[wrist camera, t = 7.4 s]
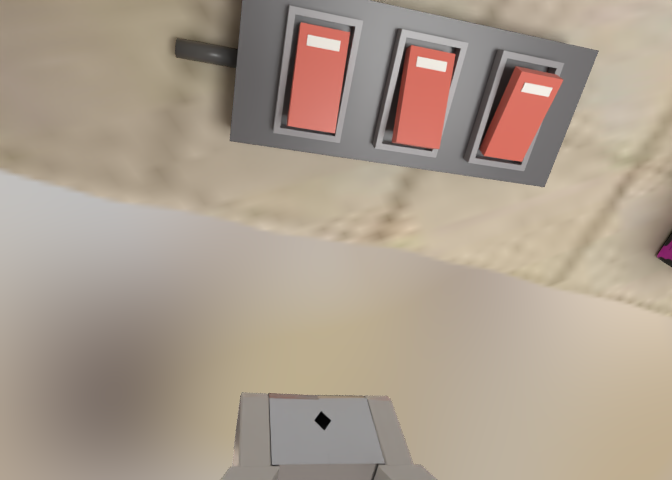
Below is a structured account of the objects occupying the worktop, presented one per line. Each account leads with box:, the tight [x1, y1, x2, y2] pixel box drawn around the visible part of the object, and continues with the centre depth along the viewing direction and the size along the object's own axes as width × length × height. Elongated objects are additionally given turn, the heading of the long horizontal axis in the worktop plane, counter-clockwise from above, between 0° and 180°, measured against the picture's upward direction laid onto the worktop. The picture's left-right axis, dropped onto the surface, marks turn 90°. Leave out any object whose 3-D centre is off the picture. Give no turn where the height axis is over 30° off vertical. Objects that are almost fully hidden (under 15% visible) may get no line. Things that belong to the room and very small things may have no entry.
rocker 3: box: [479, 66, 563, 162], centre depth 31 cm, size 3×6×1 cm, turn 169°
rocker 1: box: [287, 22, 350, 133], centre depth 29 cm, size 3×6×1 cm, turn 169°
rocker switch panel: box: [175, 0, 598, 187], centre depth 32 cm, size 28×10×4 cm, turn 79°
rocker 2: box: [392, 45, 456, 149], centre depth 30 cm, size 3×6×1 cm, turn 169°
